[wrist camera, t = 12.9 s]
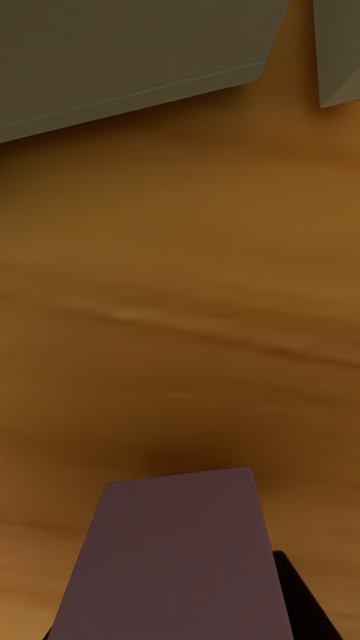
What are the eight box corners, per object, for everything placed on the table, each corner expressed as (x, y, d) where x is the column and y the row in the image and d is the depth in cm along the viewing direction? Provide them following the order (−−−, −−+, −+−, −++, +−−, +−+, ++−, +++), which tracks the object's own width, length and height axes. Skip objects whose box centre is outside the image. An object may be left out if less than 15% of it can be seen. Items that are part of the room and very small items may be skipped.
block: (250, 464, 8) (304, 681, 4) (268, 577, 9) (325, 843, 5) (105, 481, 8) (24, 695, 4) (137, 588, 9) (93, 842, 5)
